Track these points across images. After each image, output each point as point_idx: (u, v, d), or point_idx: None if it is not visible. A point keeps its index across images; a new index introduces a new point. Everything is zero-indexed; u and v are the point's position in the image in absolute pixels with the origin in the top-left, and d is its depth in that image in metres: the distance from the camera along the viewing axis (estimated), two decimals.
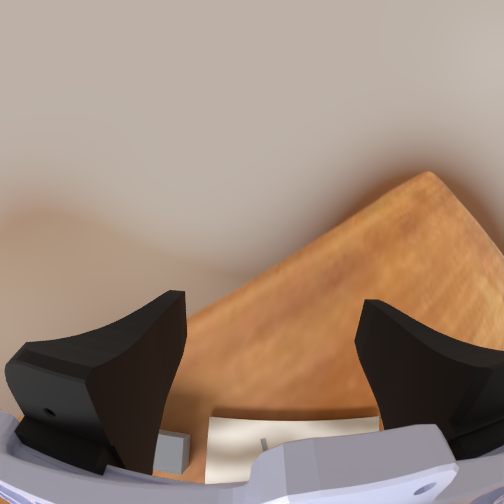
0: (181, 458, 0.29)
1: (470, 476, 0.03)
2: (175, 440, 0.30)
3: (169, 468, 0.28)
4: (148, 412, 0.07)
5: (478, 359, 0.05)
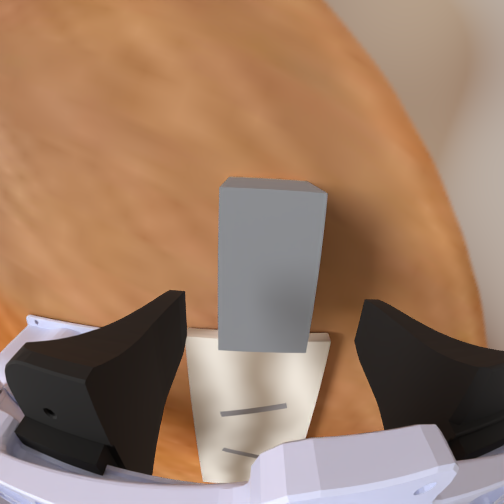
0: (257, 350, 0.17)
1: (470, 476, 0.03)
2: (299, 339, 0.16)
3: (229, 329, 0.16)
4: (148, 412, 0.07)
5: (478, 360, 0.05)
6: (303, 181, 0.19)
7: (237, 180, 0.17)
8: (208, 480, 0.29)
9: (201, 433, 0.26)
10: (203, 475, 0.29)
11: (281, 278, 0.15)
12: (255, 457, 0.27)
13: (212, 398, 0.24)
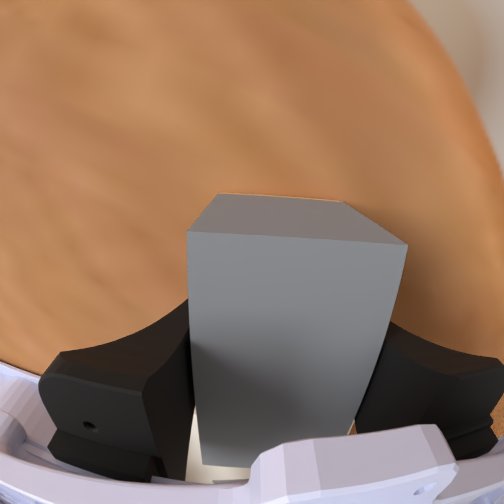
0: None
1: (470, 476, 0.03)
2: None
3: (218, 447, 0.09)
4: (183, 418, 0.07)
5: (448, 365, 0.05)
6: (338, 203, 0.11)
7: (229, 204, 0.10)
8: None
9: None
10: None
11: (307, 389, 0.08)
12: None
13: (201, 469, 0.17)
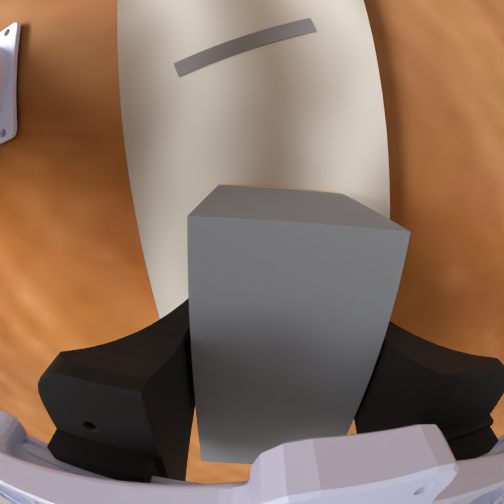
0: None
1: (470, 476, 0.03)
2: None
3: (218, 441, 0.09)
4: (184, 417, 0.07)
5: (448, 365, 0.05)
6: (339, 194, 0.11)
7: (230, 193, 0.10)
8: None
9: (139, 158, 0.12)
10: None
11: (309, 380, 0.08)
12: None
13: (156, 32, 0.10)
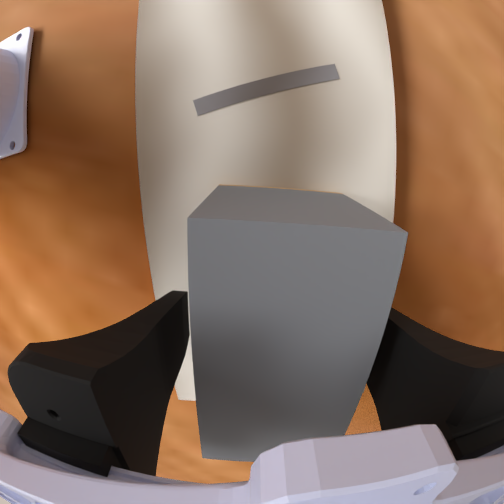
0: None
1: (470, 476, 0.03)
2: None
3: (218, 439, 0.09)
4: (152, 413, 0.07)
5: (475, 360, 0.05)
6: (338, 194, 0.11)
7: (230, 194, 0.10)
8: (188, 394, 0.16)
9: (153, 195, 0.12)
10: None
11: (308, 379, 0.08)
12: None
13: (177, 63, 0.10)
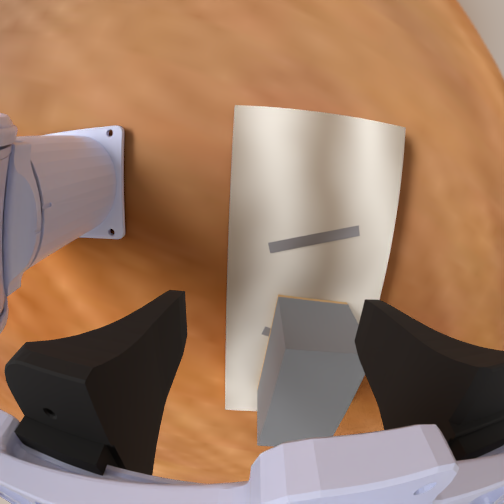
0: None
1: (470, 476, 0.03)
2: None
3: (270, 434, 0.17)
4: (148, 412, 0.07)
5: (478, 359, 0.05)
6: (345, 306, 0.20)
7: (291, 314, 0.18)
8: (233, 406, 0.24)
9: (235, 295, 0.20)
10: (227, 395, 0.24)
11: (321, 406, 0.16)
12: None
13: (259, 215, 0.19)
